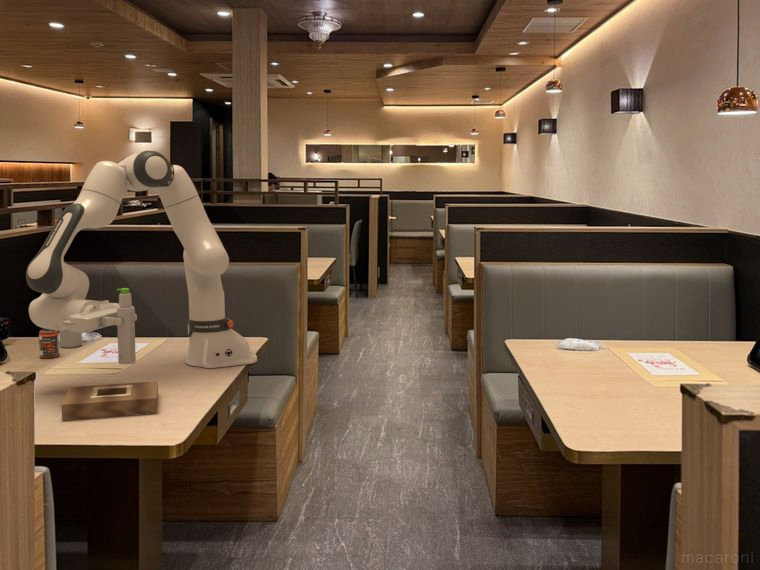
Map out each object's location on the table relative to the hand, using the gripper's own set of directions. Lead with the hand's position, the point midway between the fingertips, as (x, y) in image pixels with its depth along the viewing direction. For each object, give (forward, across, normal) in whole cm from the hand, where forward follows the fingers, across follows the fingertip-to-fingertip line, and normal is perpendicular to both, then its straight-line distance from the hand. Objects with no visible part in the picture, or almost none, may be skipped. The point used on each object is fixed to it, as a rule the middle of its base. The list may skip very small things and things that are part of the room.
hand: (128, 319), depth 195 cm
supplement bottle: (-53, +31, +22) cm, 65 cm away
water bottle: (-57, +47, +22) cm, 77 cm away
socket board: (+1, -9, +21) cm, 23 cm away
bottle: (-1, 0, +12) cm, 12 cm away
